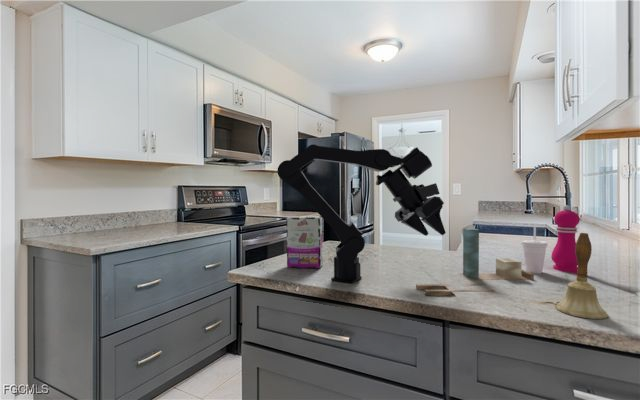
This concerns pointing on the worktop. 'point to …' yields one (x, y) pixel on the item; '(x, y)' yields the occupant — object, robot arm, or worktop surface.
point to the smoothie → (534, 254)
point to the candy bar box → (304, 242)
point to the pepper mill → (565, 241)
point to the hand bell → (582, 287)
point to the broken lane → (445, 289)
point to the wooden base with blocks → (473, 259)
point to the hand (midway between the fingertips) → (435, 234)
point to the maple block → (508, 268)
